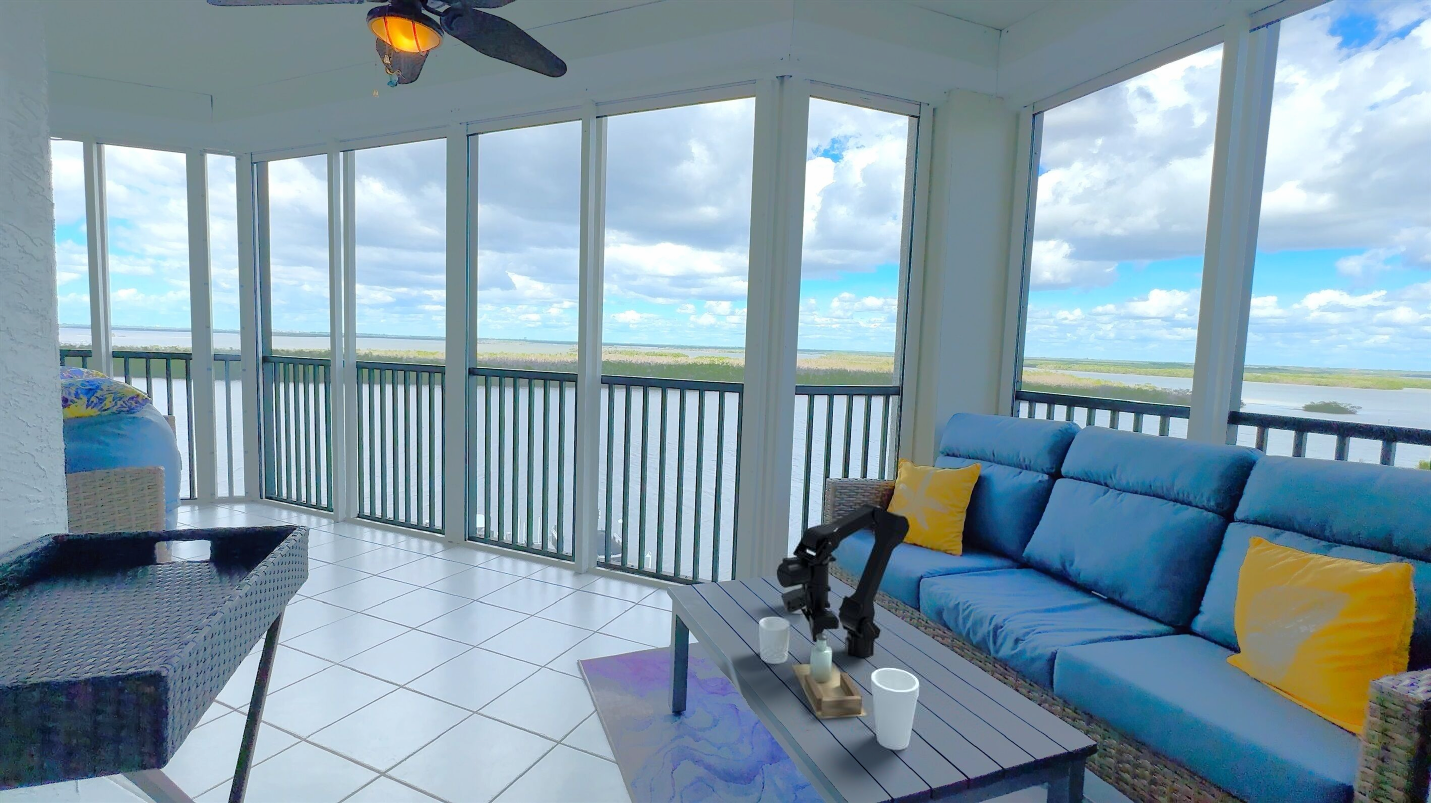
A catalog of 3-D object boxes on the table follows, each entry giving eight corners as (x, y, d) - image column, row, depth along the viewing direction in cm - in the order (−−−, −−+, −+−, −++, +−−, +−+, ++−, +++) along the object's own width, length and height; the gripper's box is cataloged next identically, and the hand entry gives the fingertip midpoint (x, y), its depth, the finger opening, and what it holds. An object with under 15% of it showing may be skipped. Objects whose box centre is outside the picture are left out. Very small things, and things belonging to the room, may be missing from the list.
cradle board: (833, 666, 159) (834, 649, 159) (867, 719, 137) (868, 699, 136) (791, 668, 158) (791, 651, 157) (818, 722, 135) (818, 702, 135)
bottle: (827, 671, 155) (828, 630, 154) (833, 682, 150) (835, 639, 149) (807, 672, 154) (808, 631, 153) (813, 683, 149) (814, 640, 148)
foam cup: (881, 721, 136) (883, 663, 135) (923, 738, 130) (926, 678, 129) (861, 741, 129) (863, 680, 128) (904, 761, 123) (907, 697, 122)
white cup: (753, 663, 160) (754, 625, 159) (765, 650, 167) (766, 614, 166) (782, 671, 157) (783, 632, 156) (793, 658, 163) (794, 620, 163)
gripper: (776, 567, 164) (775, 625, 165) (793, 595, 145) (791, 660, 146) (818, 566, 165) (816, 624, 166) (840, 594, 146) (838, 659, 148)
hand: (814, 641), depth 157 cm, fingers closed
